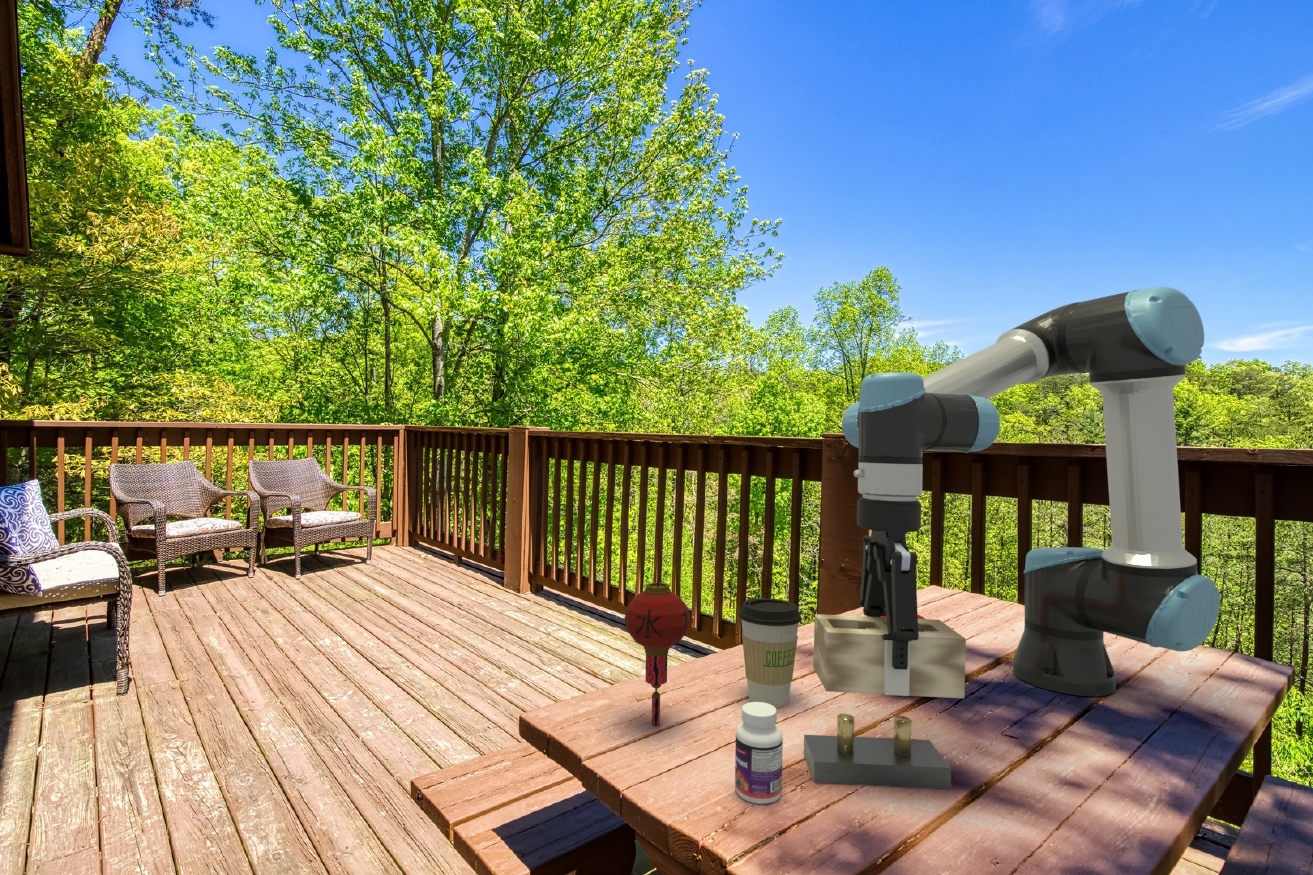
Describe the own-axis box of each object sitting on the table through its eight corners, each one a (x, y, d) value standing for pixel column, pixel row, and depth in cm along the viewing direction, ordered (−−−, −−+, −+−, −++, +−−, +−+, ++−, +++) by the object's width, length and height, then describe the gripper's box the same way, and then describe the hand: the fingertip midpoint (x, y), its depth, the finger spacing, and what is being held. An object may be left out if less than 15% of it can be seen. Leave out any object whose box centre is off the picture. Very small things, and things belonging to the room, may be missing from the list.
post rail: (928, 759, 81) (929, 708, 81) (950, 788, 74) (951, 733, 74) (803, 753, 82) (804, 703, 82) (814, 782, 75) (814, 728, 75)
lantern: (696, 715, 93) (699, 513, 93) (677, 744, 84) (680, 520, 84) (636, 706, 96) (639, 510, 96) (612, 732, 87) (615, 517, 87)
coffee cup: (801, 716, 94) (802, 615, 94) (734, 709, 96) (736, 610, 96) (799, 690, 103) (801, 599, 103) (739, 685, 105) (740, 595, 105)
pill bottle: (730, 780, 76) (731, 699, 76) (774, 778, 76) (775, 698, 76) (740, 806, 70) (741, 719, 70) (787, 804, 71) (788, 718, 71)
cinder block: (937, 673, 82) (939, 619, 82) (964, 698, 74) (965, 638, 74) (813, 667, 83) (814, 614, 83) (826, 691, 75) (827, 632, 75)
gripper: (838, 490, 89) (835, 651, 89) (883, 504, 68) (879, 714, 68) (892, 491, 89) (889, 653, 88) (954, 506, 68) (950, 718, 68)
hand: (884, 679), depth 78 cm, fingers closed on cinder block, 8 cm apart
